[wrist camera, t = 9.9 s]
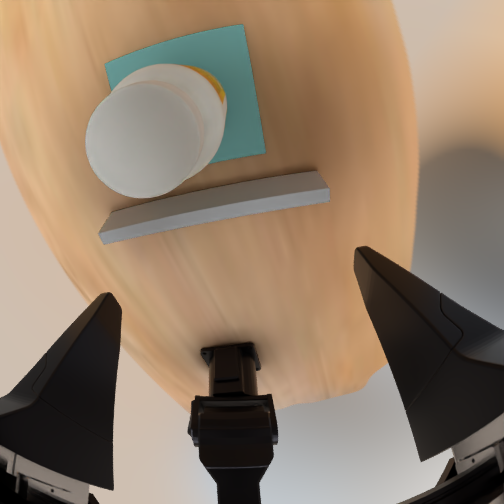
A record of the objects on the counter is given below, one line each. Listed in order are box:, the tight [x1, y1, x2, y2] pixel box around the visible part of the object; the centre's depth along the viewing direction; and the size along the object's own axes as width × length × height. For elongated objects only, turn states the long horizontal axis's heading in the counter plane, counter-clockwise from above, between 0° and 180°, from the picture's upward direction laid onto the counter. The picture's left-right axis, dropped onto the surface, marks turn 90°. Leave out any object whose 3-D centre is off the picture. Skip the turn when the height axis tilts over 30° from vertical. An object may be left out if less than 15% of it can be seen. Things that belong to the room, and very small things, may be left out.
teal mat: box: [105, 24, 266, 164], centre depth 15 cm, size 9×9×1 cm
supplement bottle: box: [85, 64, 227, 198], centre depth 12 cm, size 5×5×10 cm
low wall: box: [98, 171, 330, 244], centre depth 19 cm, size 1×16×3 cm, turn 100°
